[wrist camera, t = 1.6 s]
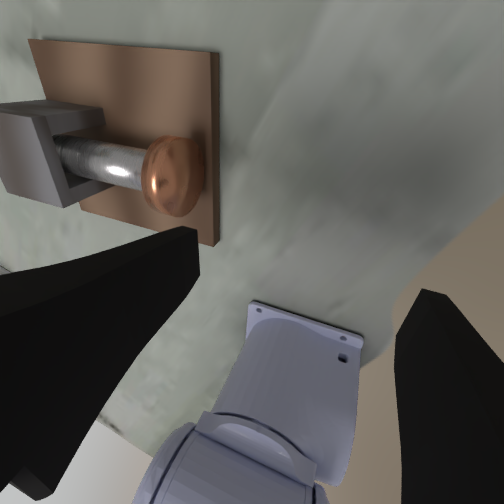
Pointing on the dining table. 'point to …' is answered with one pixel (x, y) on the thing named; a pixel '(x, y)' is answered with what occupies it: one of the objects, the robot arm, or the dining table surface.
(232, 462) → the robot arm
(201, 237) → the stand
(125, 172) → the shaft
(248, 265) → the dining table surface
